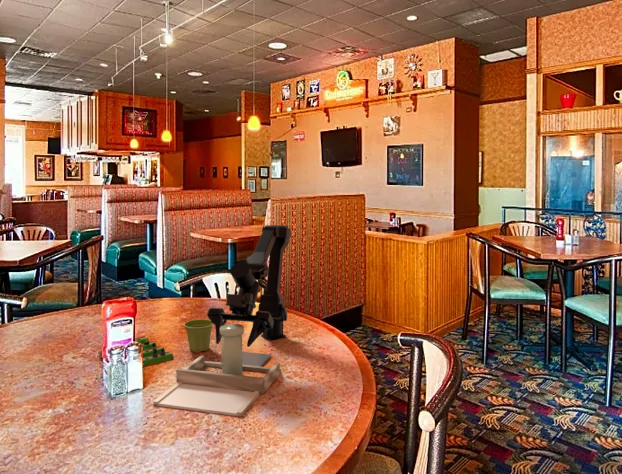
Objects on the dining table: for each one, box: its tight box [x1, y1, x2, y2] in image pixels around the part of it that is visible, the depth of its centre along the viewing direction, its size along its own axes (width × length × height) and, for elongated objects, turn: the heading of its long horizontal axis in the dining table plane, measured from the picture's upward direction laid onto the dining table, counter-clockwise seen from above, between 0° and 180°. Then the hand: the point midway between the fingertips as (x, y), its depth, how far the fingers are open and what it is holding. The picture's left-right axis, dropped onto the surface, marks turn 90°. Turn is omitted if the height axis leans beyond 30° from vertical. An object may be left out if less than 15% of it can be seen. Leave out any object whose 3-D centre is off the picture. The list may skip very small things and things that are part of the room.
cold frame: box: [175, 355, 282, 395], centre depth 138 cm, size 15×24×4 cm, turn 76°
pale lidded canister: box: [220, 323, 245, 376], centre depth 139 cm, size 7×7×14 cm
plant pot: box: [183, 318, 214, 353], centre depth 160 cm, size 9×9×9 cm
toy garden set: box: [98, 336, 175, 367], centre depth 155 cm, size 23×19×5 cm
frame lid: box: [152, 381, 260, 418], centre depth 124 cm, size 12×23×1 cm, turn 76°
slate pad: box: [242, 351, 272, 367], centre depth 150 cm, size 11×11×1 cm
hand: (232, 344), depth 139 cm, fingers open, 9 cm apart
